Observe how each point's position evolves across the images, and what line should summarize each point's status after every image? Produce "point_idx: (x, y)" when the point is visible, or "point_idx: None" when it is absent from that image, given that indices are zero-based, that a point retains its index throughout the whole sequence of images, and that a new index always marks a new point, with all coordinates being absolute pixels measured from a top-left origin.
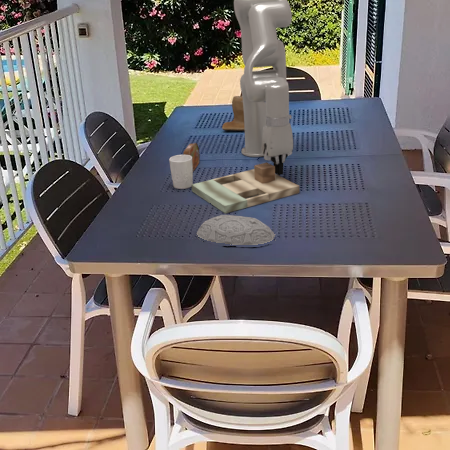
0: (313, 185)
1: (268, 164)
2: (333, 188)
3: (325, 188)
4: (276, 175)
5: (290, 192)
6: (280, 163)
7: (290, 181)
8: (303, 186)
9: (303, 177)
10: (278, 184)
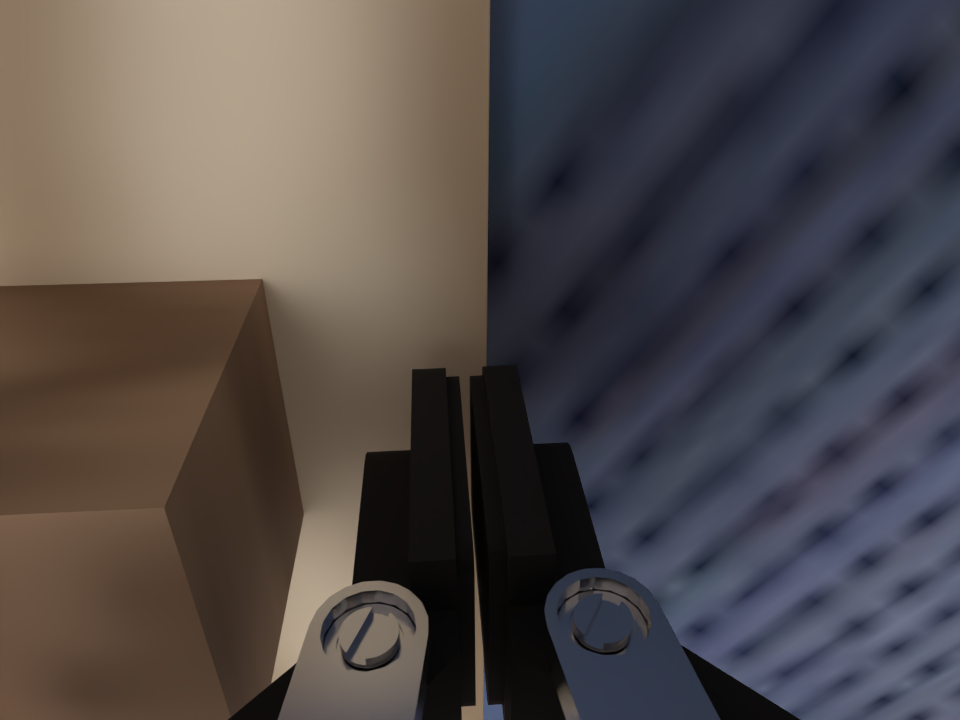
0: (750, 593)
1: (148, 649)
2: (816, 713)
3: (766, 688)
4: (456, 344)
5: None
6: (496, 691)
7: (481, 636)
8: (644, 568)
9: (912, 337)
10: None
